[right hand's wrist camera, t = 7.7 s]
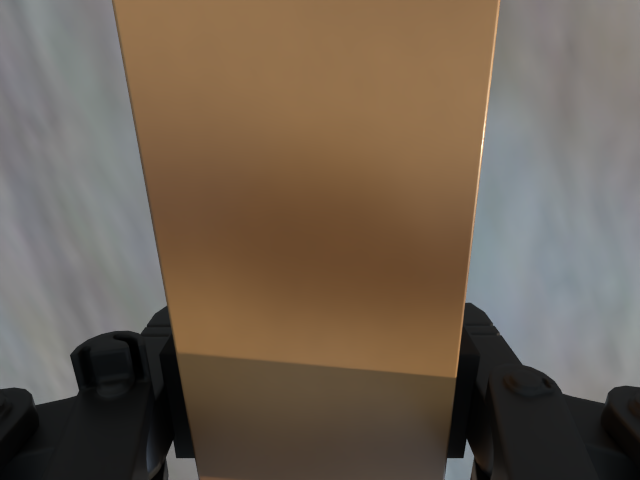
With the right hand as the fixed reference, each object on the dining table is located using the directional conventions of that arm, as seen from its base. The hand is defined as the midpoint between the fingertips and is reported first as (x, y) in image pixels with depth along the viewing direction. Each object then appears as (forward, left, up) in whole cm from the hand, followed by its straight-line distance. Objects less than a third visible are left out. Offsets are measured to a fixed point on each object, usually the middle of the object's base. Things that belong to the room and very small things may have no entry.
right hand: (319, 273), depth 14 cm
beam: (+11, +19, 0) cm, 21 cm away
